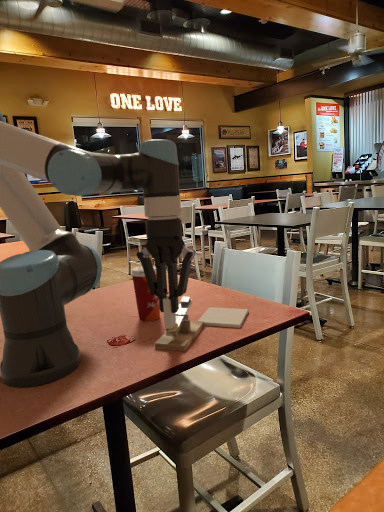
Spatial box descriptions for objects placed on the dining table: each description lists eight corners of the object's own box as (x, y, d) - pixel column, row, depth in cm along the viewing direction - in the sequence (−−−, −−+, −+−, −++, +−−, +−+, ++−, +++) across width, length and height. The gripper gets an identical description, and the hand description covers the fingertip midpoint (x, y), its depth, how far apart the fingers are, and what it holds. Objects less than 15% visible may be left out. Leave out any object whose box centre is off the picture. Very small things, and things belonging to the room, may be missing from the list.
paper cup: (159, 323, 95) (154, 271, 92) (131, 323, 96) (125, 271, 94) (167, 312, 102) (163, 264, 99) (141, 312, 104) (136, 264, 101)
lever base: (184, 351, 78) (183, 334, 77) (155, 348, 80) (153, 332, 80) (204, 326, 91) (203, 311, 90) (178, 324, 93) (177, 310, 93)
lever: (179, 337, 79) (178, 331, 78) (162, 336, 81) (161, 329, 80) (195, 303, 89) (194, 297, 88) (180, 302, 91) (178, 296, 90)
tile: (240, 327, 88) (239, 324, 88) (197, 324, 92) (196, 321, 92) (248, 312, 99) (248, 309, 98) (209, 309, 102) (209, 307, 102)
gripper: (198, 215, 77) (204, 322, 81) (143, 217, 81) (150, 319, 85) (186, 218, 70) (193, 335, 74) (126, 220, 74) (135, 330, 78)
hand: (170, 326), depth 79 cm, fingers closed
